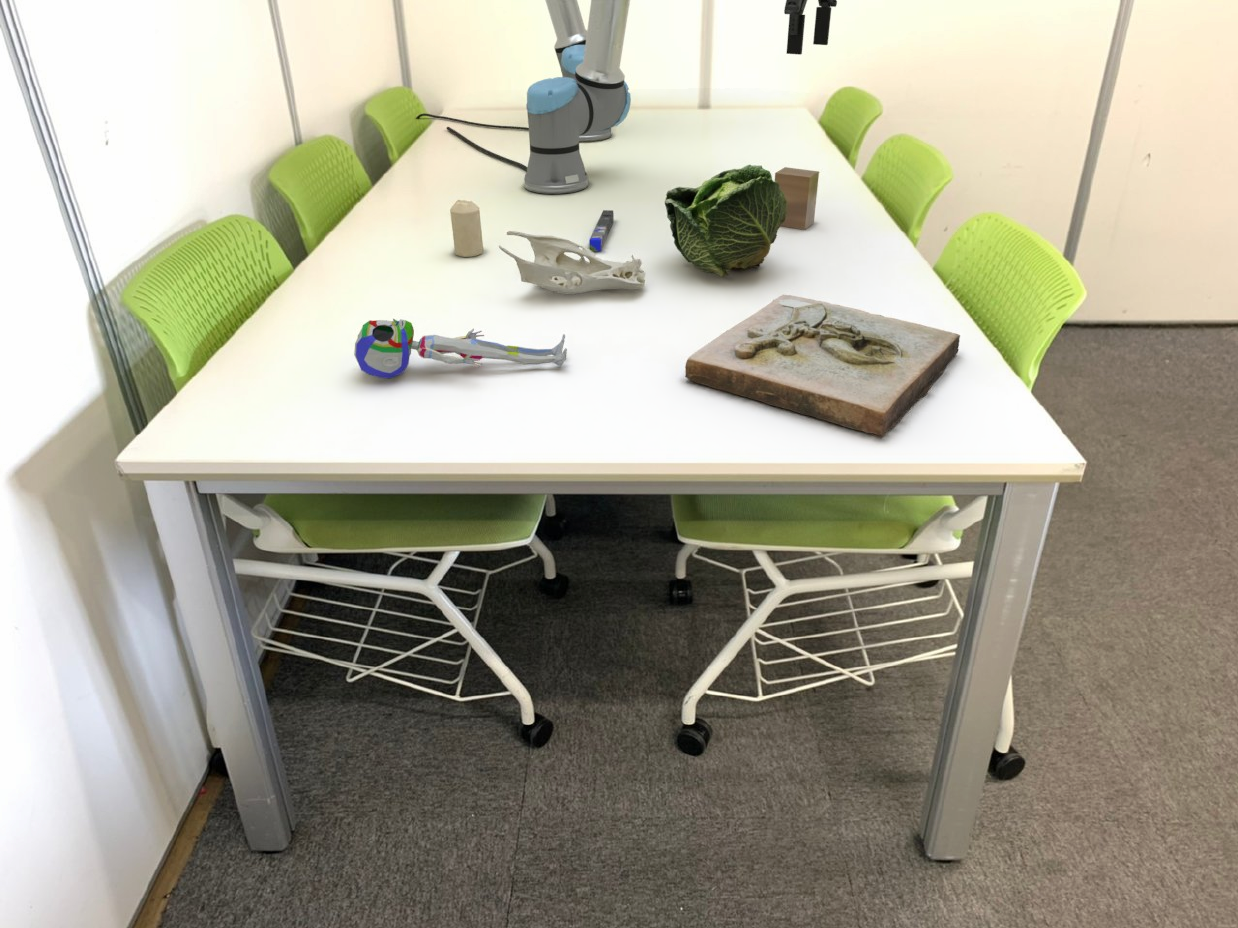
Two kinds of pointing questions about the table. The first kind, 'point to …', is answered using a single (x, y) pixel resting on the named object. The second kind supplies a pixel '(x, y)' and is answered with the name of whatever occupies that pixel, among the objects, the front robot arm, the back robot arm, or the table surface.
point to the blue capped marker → (601, 230)
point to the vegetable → (727, 219)
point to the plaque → (827, 362)
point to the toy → (435, 349)
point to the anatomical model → (574, 267)
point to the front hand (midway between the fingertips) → (807, 49)
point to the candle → (466, 228)
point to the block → (798, 196)
